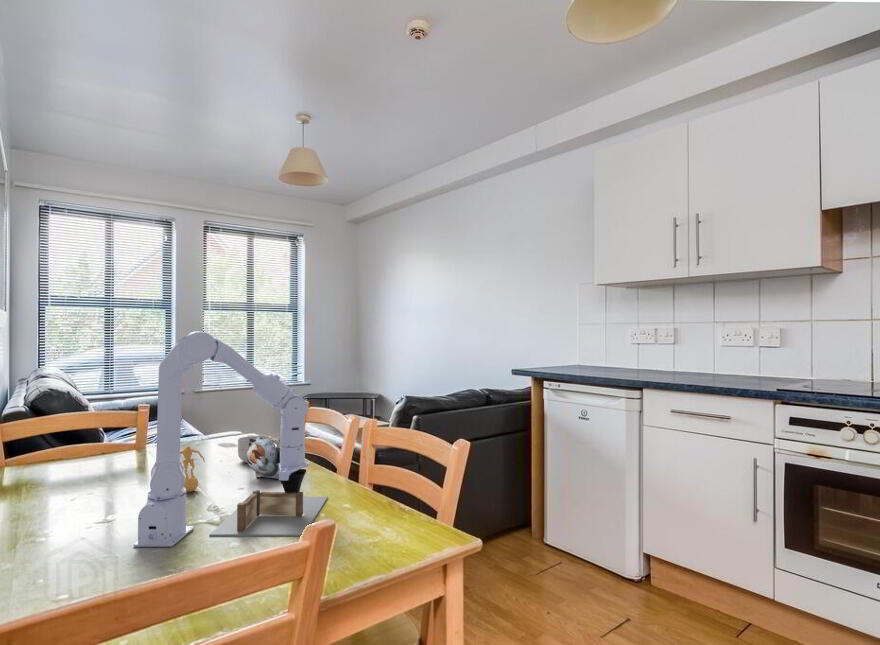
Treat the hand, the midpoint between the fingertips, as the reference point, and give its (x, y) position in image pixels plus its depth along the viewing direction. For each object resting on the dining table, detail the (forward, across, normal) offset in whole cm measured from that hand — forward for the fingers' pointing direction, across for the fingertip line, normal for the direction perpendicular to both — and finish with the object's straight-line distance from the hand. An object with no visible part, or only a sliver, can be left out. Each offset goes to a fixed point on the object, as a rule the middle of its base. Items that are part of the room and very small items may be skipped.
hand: (292, 502), depth 120 cm
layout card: (+3, 0, +4) cm, 5 cm away
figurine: (+3, +17, +33) cm, 38 cm away
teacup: (+3, +48, +25) cm, 54 cm away
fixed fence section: (+2, -6, +8) cm, 10 cm away
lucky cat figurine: (+3, +30, +14) cm, 34 cm away
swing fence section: (+2, -2, +2) cm, 4 cm away
